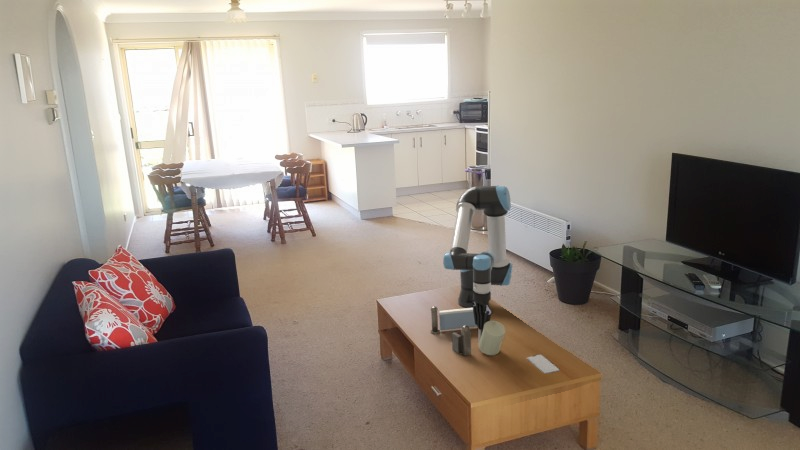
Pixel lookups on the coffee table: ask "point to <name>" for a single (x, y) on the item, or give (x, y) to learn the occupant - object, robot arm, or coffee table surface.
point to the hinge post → (434, 321)
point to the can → (491, 337)
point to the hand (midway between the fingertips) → (481, 341)
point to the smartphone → (543, 364)
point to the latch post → (462, 341)
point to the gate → (456, 318)
